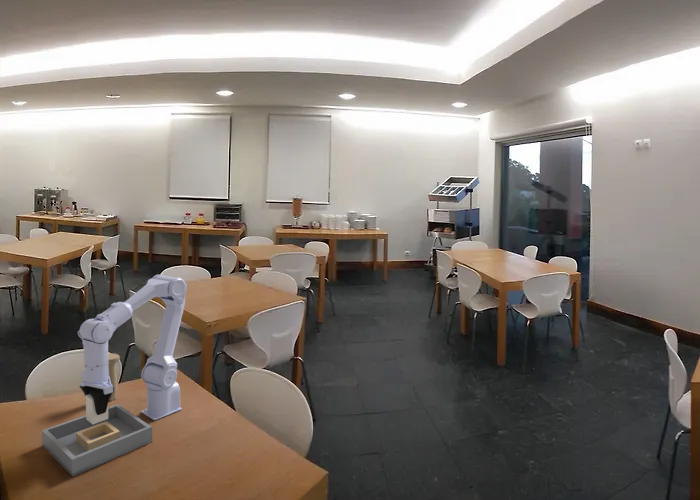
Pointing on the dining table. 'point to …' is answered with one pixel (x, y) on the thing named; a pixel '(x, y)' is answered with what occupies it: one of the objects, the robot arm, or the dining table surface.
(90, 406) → the plug
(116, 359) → the handle
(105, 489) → the dining table surface
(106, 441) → the box
